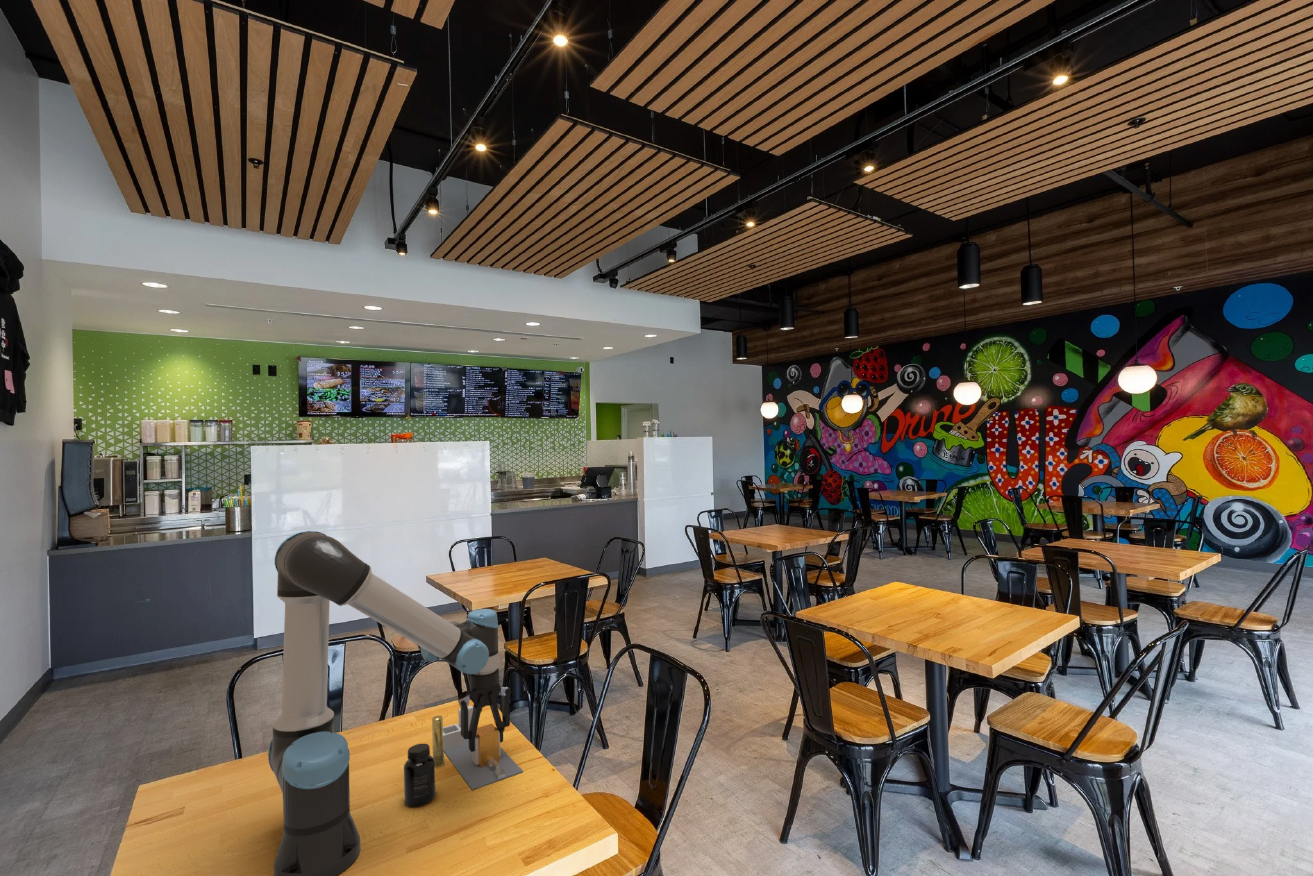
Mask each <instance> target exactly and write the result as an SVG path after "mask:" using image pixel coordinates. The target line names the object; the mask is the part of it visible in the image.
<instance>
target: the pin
mask: <svg viewBox="0 0 1313 876" xmlns="http://www.w3.org/2000/svg"><path fill="white" fill-rule="evenodd" d="M443 718H444V716H442V715H435V716H433V717H432V718H431V726H432V727H431V728H432V732H431V733H432V757H433V758H434V762H435V768H437V767H441V766H443V765H444V763H445V762H444V761H445V759H444V757H445V756H444V754H445V753H444V751H443V727H444V723H443V722H444V721H443Z"/></svg>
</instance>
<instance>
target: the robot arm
mask: <svg viewBox="0 0 1313 876" xmlns="http://www.w3.org/2000/svg"><path fill="white" fill-rule="evenodd" d="M275 552H276V553H275V556H274V567H275V570H276V571H277V593H276V594H277V598H278V599H280V600H281V601H282V602H283V603H284V629H283V653H282V654H283V661H282V688H281V689H282V690H281V694H282V695H281V714H280V715H279V716H278V717H277V718H276V719H275V720H274V722H273V723H272V739H271V740H270V741H269V746H268V753H267V756H268V757H267V759H268V764H269V767H270V769H271V771H272V772H273V774H274V777H275V779H276V780H277V783H278V785H279V788H280V790H281V792H282V793H281V794H282V809H283V810H282V813H283V832H282V836H281V840H280V843H279V846H278V849H277V852H276V854H275V855H276V856H275V859H274V862H273V876H338V875H340V874H341V873H343V872H344V871H345V870H347V869H348V868H349V867H350V866H352V865H353V863H354V862H355V861H356V860H357V859H358V857H359V854H360V852H361V836H360V834H359V831H358V829H357V826H356V824H355V821H354V818H353V816H352V814H351V801H350V798H351V796H350V794H351V791H350V759H351V757H350V756H351V753H350V748H349V744H348V740H347V739H346V738H345V736H343V735H342V734H340V733H337V732H335V731H334V729H335V728H334V727H335V712H334V711H333V710H332V709H331V708H330V707H328V706H327V705H328V704H327V703H328V702H327V701H328V674H329V673H328V672H329V671H328V668H329V667H328V666H329V638H330V637H329V635H330V634H329V631H330V601H331V602H332V603H334V604H336V605H338V606H340V607H342V606H346V605H348V606H350V607H352V608H354V609H355V610H356V611H358V612H360V613H362V614H363V615H366V616H367V617H369V618H370V619H372V620H374V621H376V622H377V623H379V624H381V625H382V626H384V627H385V628H388V629H389V630H390V631H393V632H394V633H396V634H397V635H399V636H401V637H402V638H404V639H407V640H408V641H409V642H411V643H414V644H415V645H417V646H418V647H419V649H420V652H421V657H422V658H423V659H424V660H425V661H426V662H433V661H434V662H435V661H436V662H437V661H438V660H442V661H443V662H445V663H446V664H449V665H450V666H452V667H454V668H455V669H456V670H458V671H459V672H461V673H463V674H467V675H469V692H468V694H467V695H466V696H465V697H463V698H461V697H460V698H458V699H457V701H458V704H459V707H460V708H461V736H462V737H463V738H464V739H469V750H470V751H471V752H473V762H474V763H475V764H476V765H478V764H479V745H478V738H477V737H476V732H477V728H478V727H479V722H480V717H481V714H482V711H483V708H485V707H487V706H488V707H490V711H491V714H492V718H493V721H494V725H495V727H496V728H497V729H498V730H499V757H500V747H501V743H503V742H504V732H505V730H506V729H505V728H508V727H510V725H511V717H510V716H511V715H510V713H511V712H510V695H511V692H512V690H511V689H510V688H509V687H508V686H507V685H506V686H501V685H500V669H499V667H500V659H499V655H500V654H499V622H498V614H497V612H496V610H494V609H493V608H492V609H490V608H480V609H475V610H473V611H470V612H469V613H468V614H467V619H466V621H463V622H460V623H454V624H453V623H451V622H450V621H448V620H446V619H445V618H443V617H441V615H438V614H437V613H435V612H434V611H433V610H431V609H429V608H428V607H426V606H424V605H423V604H421V603H420V602H418V601H417V600H415V599H413V598H412V597H410V596H408V595H407V594H405V593H404V592H402V591H400V590H399V589H397V588H396V587H394V586H392V585H391V584H390V583H388V582H386V581H385V580H384V579H382V578H380V577H378V576H377V575H376V574H374V573H373V571H372V567H371V566H370V565H369V564H368V563H366V562H364V561H363V560H362V559H360V558H359V557H357V556H356V555H355V554H354V553H353V552H351V551H350V550H349V549H348V548H347V547H346V546H345V545H344V544H342V543H341V542H340V541H339V540H337V539H336V538H334V537H332V536H329V535H326V534H325V533H323V532H321V531H316V530H314V531H313V530H307V531H306V530H304V531H299V532H296V533H294V534H292V535H290V536H288V537H287V538H286V539H284V540H283V541H282V542H281V543H280V544H279V546H278V547H277V549H276V551H275ZM499 695H501V699H500V700H501V714H500V710H499V708H498V707H499V706H498V703H497V698H498V697H499ZM470 701H471V702H472V703H473V705H472V706H473V713H472V717H471V722H470V727H469V731H468V706H470V705H469V704H470ZM501 717H502V718H501Z"/></svg>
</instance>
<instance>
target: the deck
mask: <svg viewBox="0 0 1313 876" xmlns="http://www.w3.org/2000/svg"><path fill="white" fill-rule="evenodd" d="M467 707H468V731H469V727H470V722H471V717H472V713H473V705H469V706H467ZM443 753H444V754H445V755H446V757H447V758H448V760H449V761H450V762H451V763H452V765H453V766H454V768H455V769H456V771H457V772H458V773H459V775H460V776H461V777H462V779H463V781H465V783H466V784H467V785H468V787H469V788H470V789H471V791H473V790H476V789H480V788H482V787H486V786H488V785H491V784H493V783H494V784H495V783H496V782H499V781H503V780H505V779H508V778H510V777H511V778H512V777H513V776H516V775H519V774H521V773H523V772H524V771H523V769H522V768H521V767H520V766H519V765H518V764H517V763H516V762H515V760H513V759H512V758H511V757H510V756H509V755H508V753H507V752H506V751H505V750H504V749H503V748H502V747H501V746H500V757H499V761H498V762H497V763H498V764H499V765H500V769H501V768H502V769H503V771H504V772H505V773H506V777H504V778H501V779H499V780H498V779H497V778H496V776H495V775H494V771H493V770H490V769H489V768H488V767H487V765H486V766H483V767H480V766H479V765H476V764H475V763H474V762H473V752H471V751H470V750H469V739H464V738H463V737H462V736H461V707H460V708H458V723H454V724H450V725H446V726H443Z"/></svg>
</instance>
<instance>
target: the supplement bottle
mask: <svg viewBox="0 0 1313 876" xmlns="http://www.w3.org/2000/svg"><path fill="white" fill-rule="evenodd" d="M435 768H436V767H435V762H434V758H433V755H431V751H430V745H429V744H428V743H417V744H414V745H412V746H410V747H409V748H408V749H407V760H406V761H405V762H404V765H403V787H404V788H403V789H404V795H403V796H404V803H405V805H406V806H408V807H412V808H417V807H422V806H425V805H428V804H429V803H430V802H432V801H433V800H434V799H435V797H436V794H437V793H436V770H435Z"/></svg>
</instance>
